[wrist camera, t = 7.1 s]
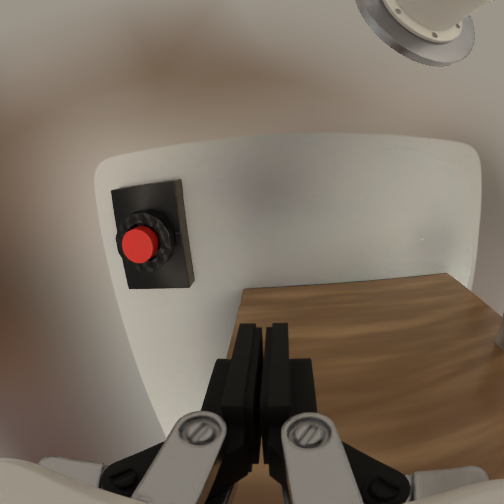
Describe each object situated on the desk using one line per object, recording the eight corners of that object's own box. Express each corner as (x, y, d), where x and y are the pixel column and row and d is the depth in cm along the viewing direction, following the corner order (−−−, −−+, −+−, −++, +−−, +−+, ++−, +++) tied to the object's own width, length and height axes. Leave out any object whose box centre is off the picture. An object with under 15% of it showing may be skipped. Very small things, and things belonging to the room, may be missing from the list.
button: (126, 227, 30) (119, 230, 29) (156, 224, 30) (149, 227, 28) (132, 258, 31) (125, 264, 30) (161, 257, 31) (155, 262, 29)
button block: (119, 188, 33) (102, 192, 29) (181, 179, 32) (169, 181, 28) (136, 282, 36) (122, 295, 32) (194, 280, 35) (185, 294, 32)
